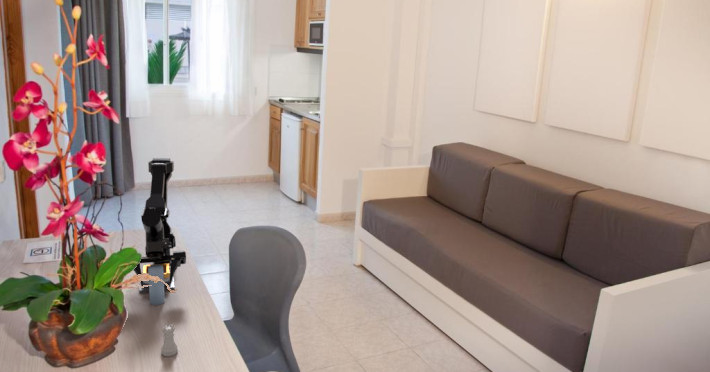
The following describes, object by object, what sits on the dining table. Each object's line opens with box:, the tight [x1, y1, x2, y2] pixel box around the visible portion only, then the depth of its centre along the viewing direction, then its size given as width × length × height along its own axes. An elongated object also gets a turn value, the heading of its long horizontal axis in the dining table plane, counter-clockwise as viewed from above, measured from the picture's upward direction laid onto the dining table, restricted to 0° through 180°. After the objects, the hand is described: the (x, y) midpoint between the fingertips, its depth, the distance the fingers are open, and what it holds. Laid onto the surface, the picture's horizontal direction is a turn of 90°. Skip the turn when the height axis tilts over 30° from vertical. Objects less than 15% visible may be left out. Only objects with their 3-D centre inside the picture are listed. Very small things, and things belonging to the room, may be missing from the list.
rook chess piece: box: [160, 324, 179, 358], centre depth 157 cm, size 4×4×8 cm
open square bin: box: [138, 263, 175, 294], centre depth 194 cm, size 11×11×6 cm
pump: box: [148, 264, 166, 306], centre depth 181 cm, size 6×4×12 cm
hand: (156, 284), depth 181 cm, fingers open, 8 cm apart
